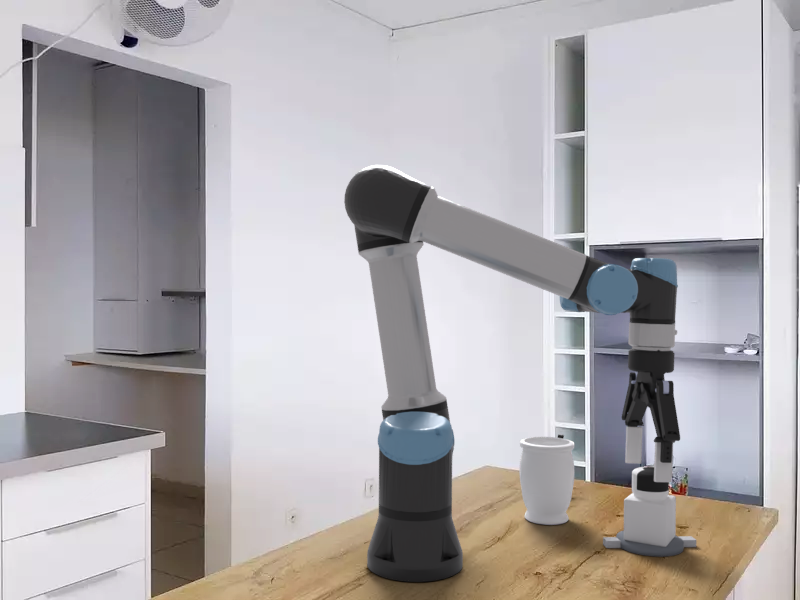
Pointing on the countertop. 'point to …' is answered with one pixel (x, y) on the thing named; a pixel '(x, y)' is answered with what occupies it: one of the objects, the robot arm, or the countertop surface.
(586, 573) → the countertop surface
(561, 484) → the jar
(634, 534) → the medicine bottle
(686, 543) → the pad
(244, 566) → the countertop surface
